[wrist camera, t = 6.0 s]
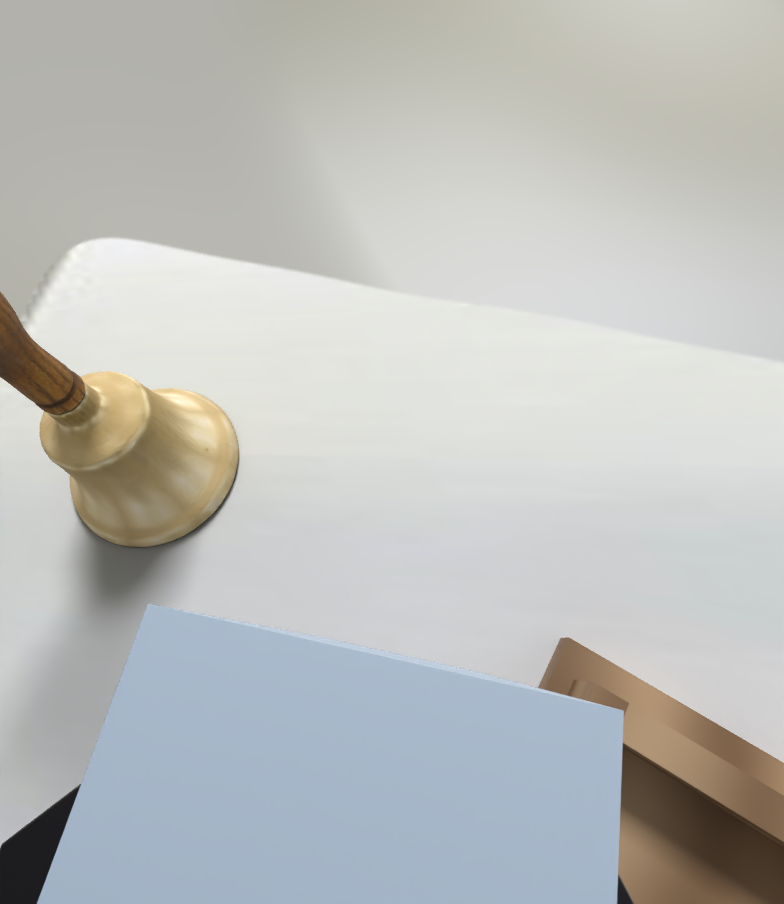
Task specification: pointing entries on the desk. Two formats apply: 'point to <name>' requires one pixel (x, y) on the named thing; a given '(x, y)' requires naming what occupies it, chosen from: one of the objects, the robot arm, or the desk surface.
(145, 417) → the hand bell
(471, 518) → the desk surface
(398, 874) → the box
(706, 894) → the tray
